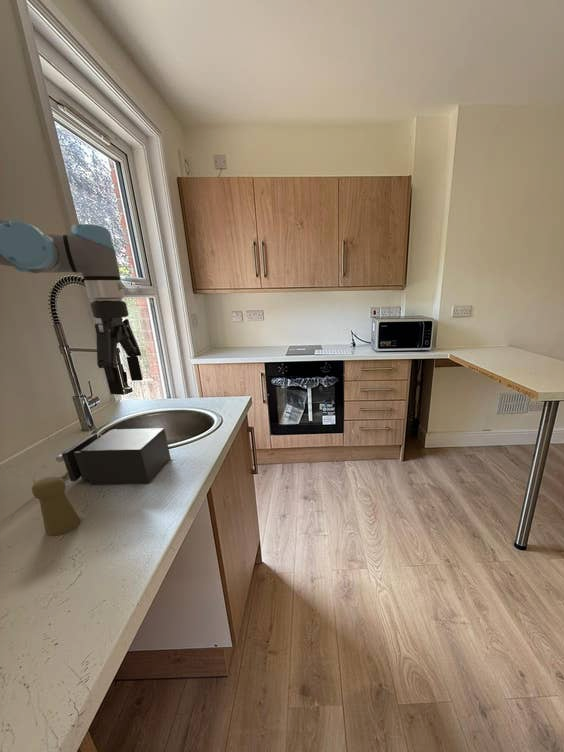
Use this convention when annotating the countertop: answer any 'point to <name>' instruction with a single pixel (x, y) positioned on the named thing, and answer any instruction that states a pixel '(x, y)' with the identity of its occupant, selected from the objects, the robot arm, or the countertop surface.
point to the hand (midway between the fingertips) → (128, 386)
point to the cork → (55, 506)
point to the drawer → (76, 458)
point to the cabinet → (126, 456)
